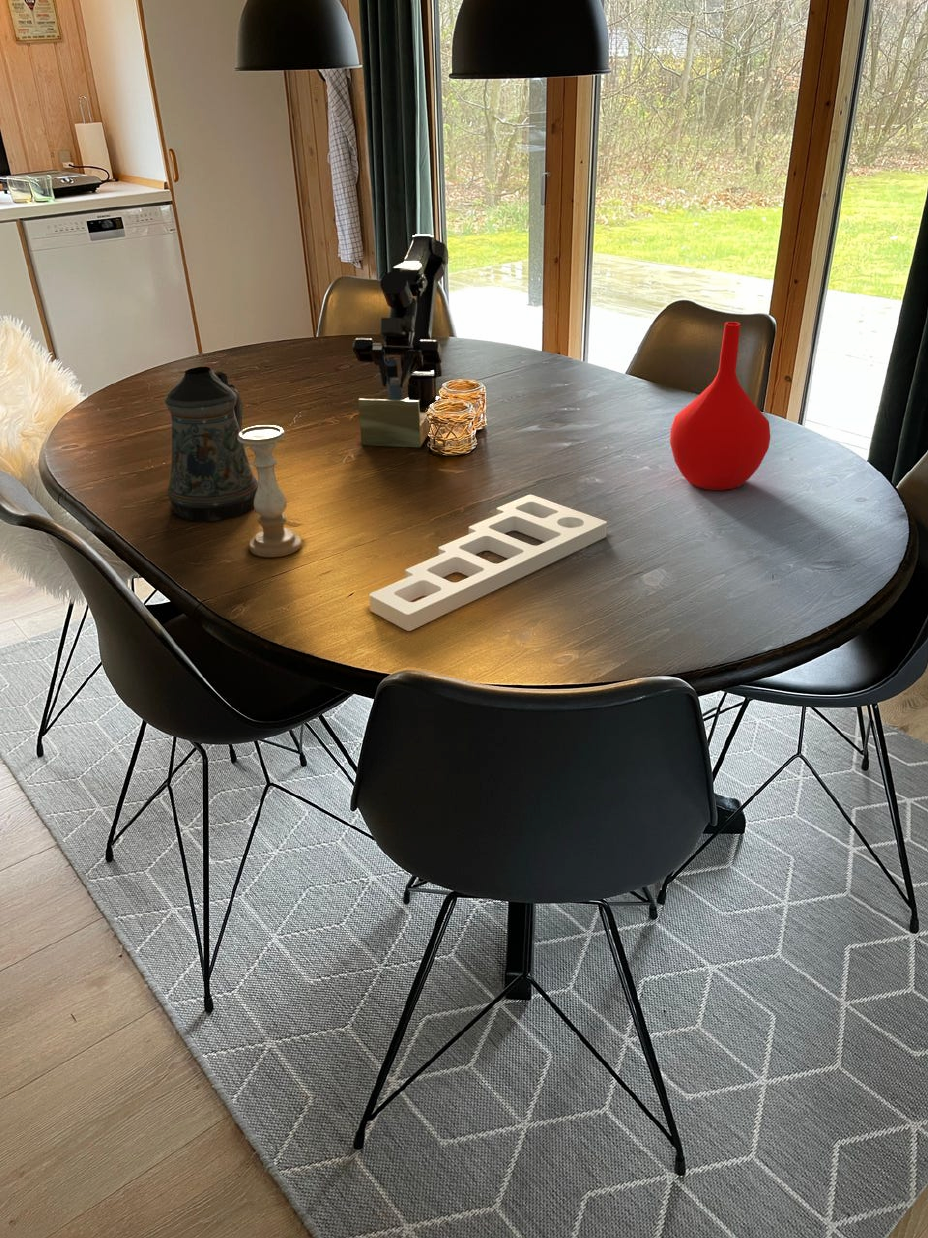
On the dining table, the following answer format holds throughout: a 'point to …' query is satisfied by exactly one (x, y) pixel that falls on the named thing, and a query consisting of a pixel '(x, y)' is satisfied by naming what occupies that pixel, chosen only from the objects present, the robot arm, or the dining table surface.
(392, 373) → the vaping device
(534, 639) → the dining table surface
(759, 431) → the vase
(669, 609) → the dining table surface
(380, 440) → the glossy olive-green box
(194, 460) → the beer stein
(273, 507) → the candle holder
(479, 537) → the holder
